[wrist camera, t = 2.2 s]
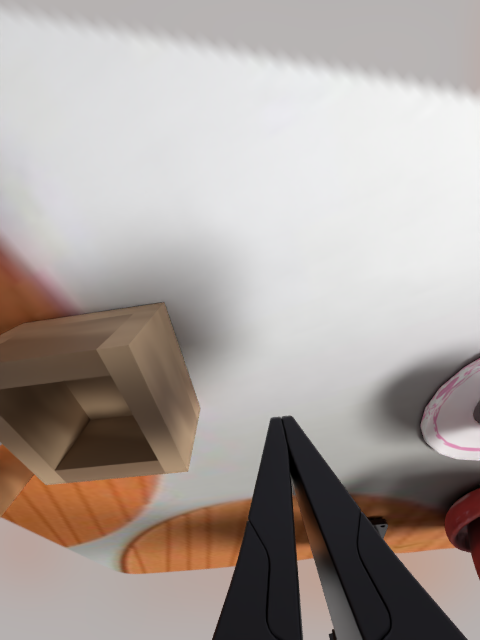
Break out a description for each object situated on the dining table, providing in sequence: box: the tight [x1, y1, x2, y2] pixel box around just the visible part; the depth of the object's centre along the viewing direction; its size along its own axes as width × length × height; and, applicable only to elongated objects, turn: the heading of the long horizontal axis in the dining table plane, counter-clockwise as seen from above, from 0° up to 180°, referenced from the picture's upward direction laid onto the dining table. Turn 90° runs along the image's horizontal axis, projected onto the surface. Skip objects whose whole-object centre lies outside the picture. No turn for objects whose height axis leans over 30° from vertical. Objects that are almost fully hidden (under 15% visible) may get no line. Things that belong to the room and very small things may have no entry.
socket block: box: [0, 302, 200, 485], centre depth 11 cm, size 8×8×4 cm
